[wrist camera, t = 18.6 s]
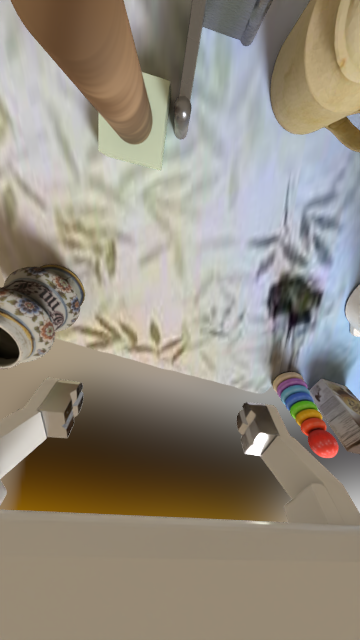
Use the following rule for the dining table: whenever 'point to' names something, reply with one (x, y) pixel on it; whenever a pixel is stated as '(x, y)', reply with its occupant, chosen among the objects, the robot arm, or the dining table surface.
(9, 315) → the apothecary jar
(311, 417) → the stacking toy
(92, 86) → the brown wooden cylinder
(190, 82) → the corner post block
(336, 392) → the coffee box
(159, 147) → the block
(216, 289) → the dining table surface
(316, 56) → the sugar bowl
